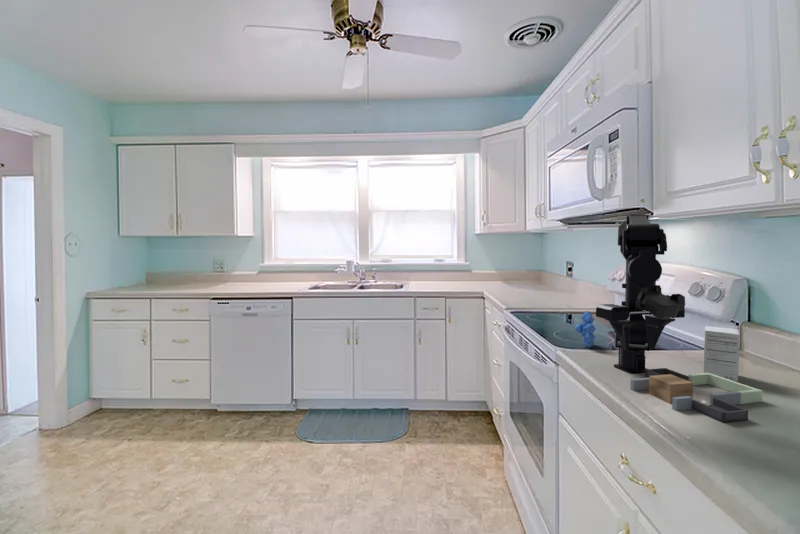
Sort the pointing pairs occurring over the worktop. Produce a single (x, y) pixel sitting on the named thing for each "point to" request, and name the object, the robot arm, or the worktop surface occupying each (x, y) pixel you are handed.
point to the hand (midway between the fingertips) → (638, 348)
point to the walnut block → (669, 387)
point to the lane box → (719, 402)
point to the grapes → (586, 329)
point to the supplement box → (721, 352)
